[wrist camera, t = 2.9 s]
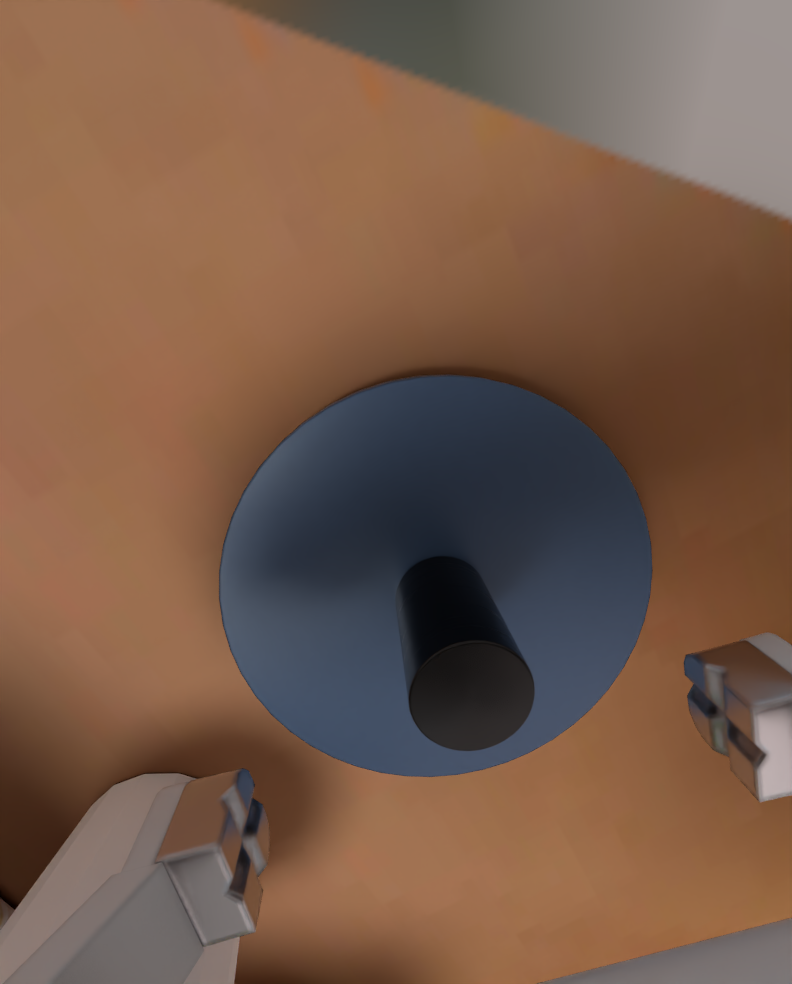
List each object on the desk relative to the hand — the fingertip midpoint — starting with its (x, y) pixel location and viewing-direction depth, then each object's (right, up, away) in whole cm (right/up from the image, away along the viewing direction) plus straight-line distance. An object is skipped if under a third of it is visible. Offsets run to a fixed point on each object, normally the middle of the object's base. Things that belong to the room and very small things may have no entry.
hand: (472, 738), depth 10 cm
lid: (0, +2, +6) cm, 6 cm away
